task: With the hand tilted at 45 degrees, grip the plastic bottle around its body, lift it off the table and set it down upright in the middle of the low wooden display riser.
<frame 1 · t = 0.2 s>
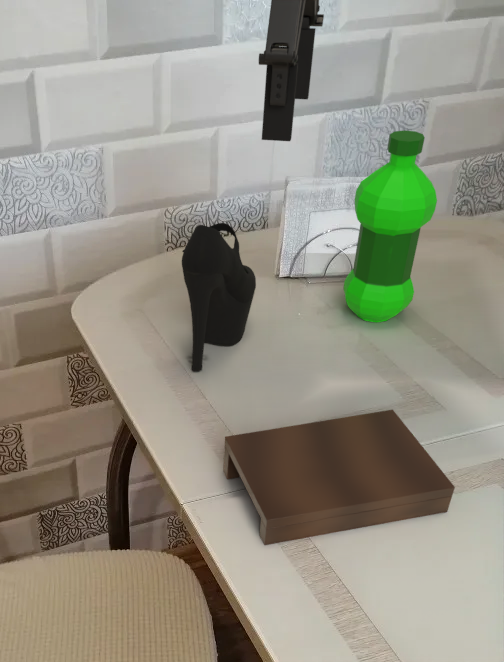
hand: (286, 117, 80), 34 cm above the table, tool pointing down, fingers open, 13 cm apart
plastic bottle: (373, 314, 117), on the table
wooden display riser: (328, 495, 88), on the table
high-heeled shoe: (214, 345, 112), on the table
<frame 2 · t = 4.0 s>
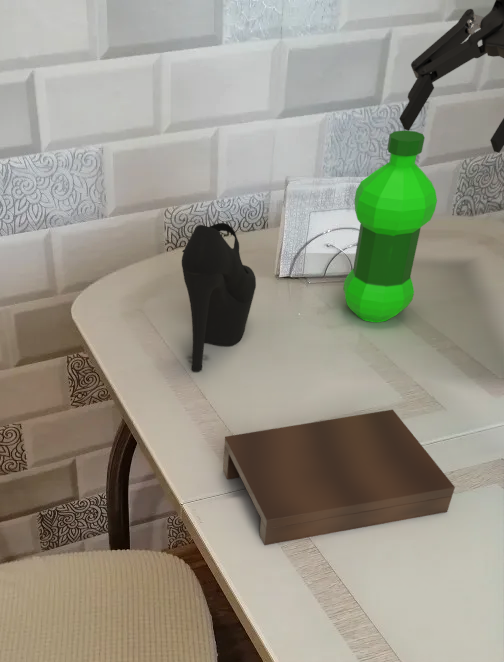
hand: (447, 135, 107), 23 cm above the table, tool tilted 45°, fingers open, 13 cm apart
nothing on the table moved.
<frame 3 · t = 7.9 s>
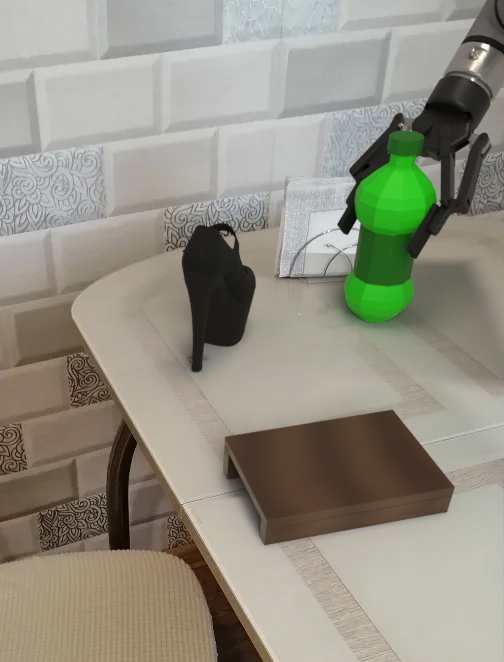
hand: (375, 241, 108), 12 cm above the table, tool tilted 45°, fingers closed on plastic bottle, 10 cm apart
plastic bottle: (373, 314, 117), on the table, touching gripper
everything else where it was.
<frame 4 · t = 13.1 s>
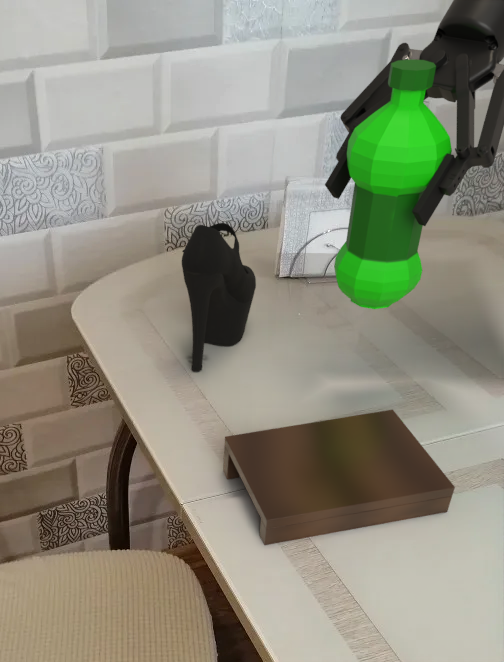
hand: (373, 205, 85), 25 cm above the table, tool tilted 45°, fingers closed on plastic bottle, 10 cm apart
plastic bottle: (371, 300, 94), point 13 cm above the table, touching gripper
everything else where it was.
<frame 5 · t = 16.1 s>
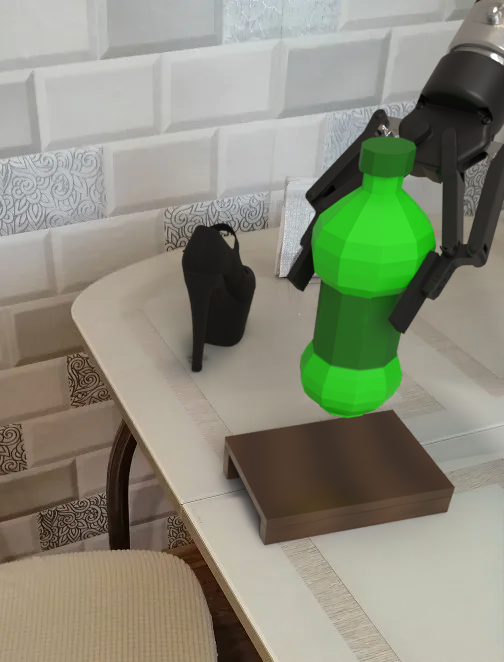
hand: (343, 304, 71), 24 cm above the table, tool tilted 45°, fingers closed on plastic bottle, 10 cm apart
plastic bottle: (343, 404, 80), point 12 cm above the table, touching gripper
everything else where it was.
when the fingers open (17 cm above the table, at t = 18.6 s): plastic bottle stays where it is, resting on wooden display riser.
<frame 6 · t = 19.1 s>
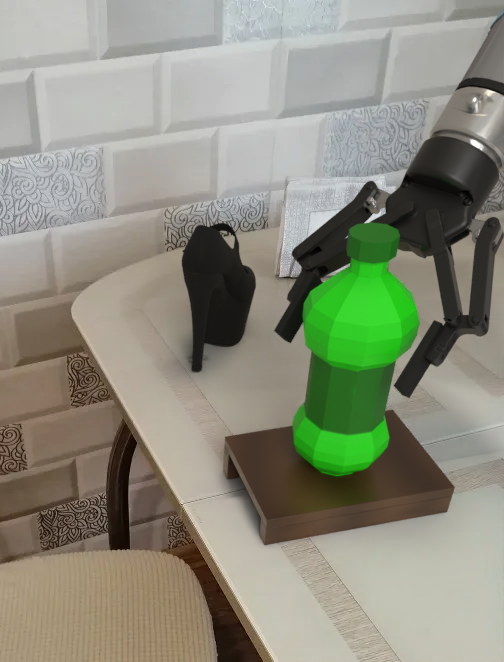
hand: (338, 363, 75), 18 cm above the table, tool tilted 45°, fingers open, 13 cm apart
plastic bottle: (334, 461, 85), point 5 cm above the table, touching wooden display riser
everything else where it was.
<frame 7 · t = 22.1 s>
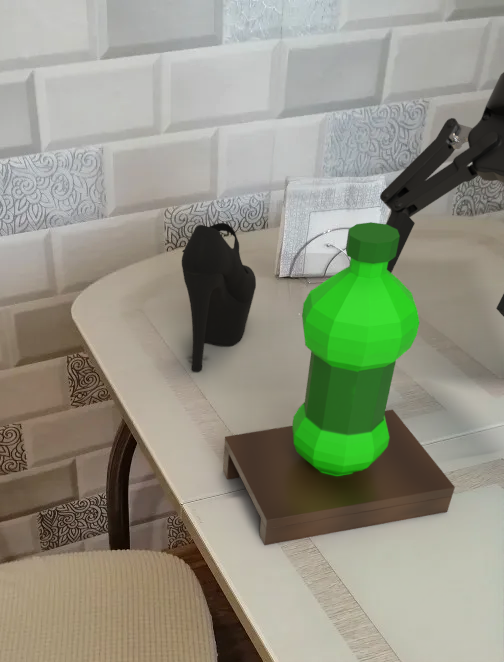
hand: (438, 295, 80), 20 cm above the table, tool tilted 40°, fingers open, 13 cm apart
nothing on the table moved.
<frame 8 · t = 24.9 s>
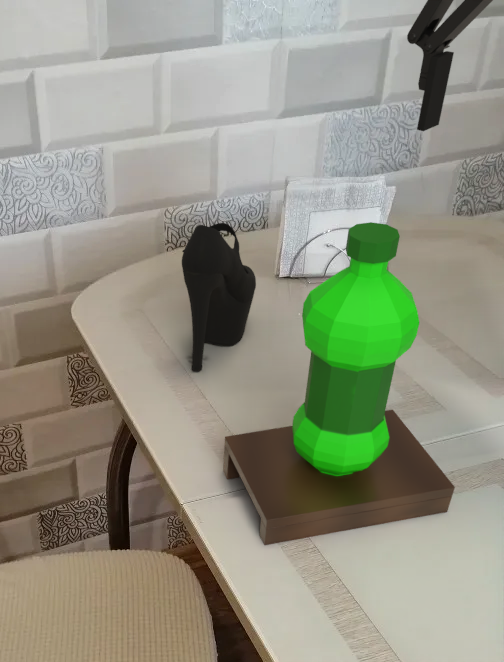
hand: (490, 142, 75), 33 cm above the table, tool pointing down, fingers open, 13 cm apart
nothing on the table moved.
at the end: plastic bottle inside the target area on the wooden display riser (0.1 cm from its centre), point 4.8 cm above the wooden display riser's base; plastic bottle tilted 0°; the gripper is holding nothing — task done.
